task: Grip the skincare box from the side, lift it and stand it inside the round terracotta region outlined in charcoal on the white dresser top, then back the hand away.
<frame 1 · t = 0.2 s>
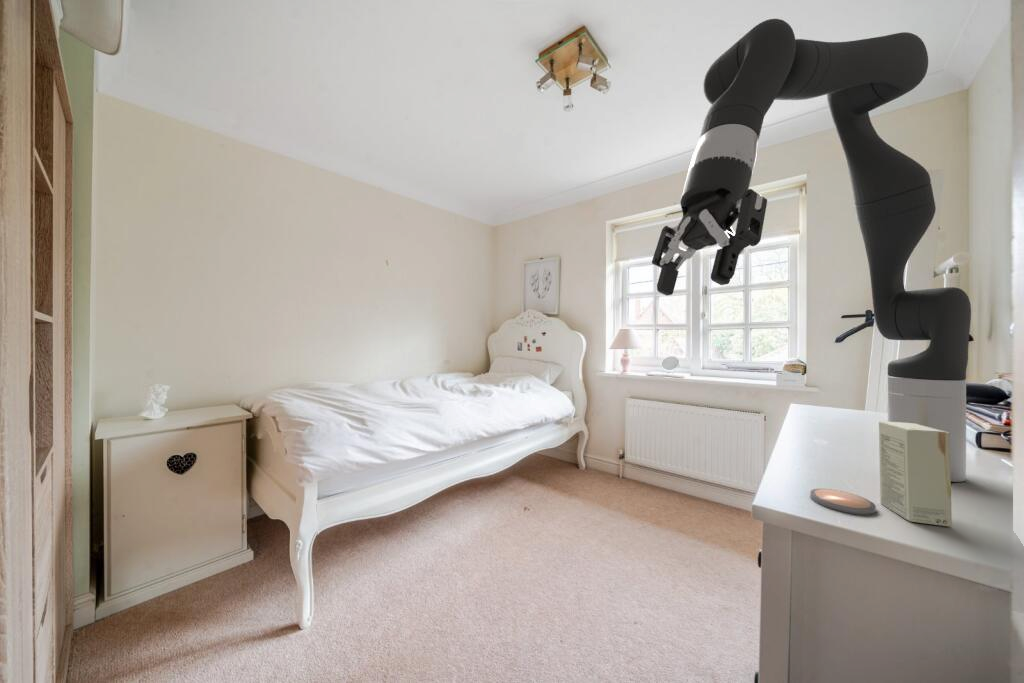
hand: (689, 288, 44), 30 cm above the table, tool tilted 20°, fingers open, 8 cm apart
skincare box: (912, 515, 49), on the table
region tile: (841, 503, 52), on the table
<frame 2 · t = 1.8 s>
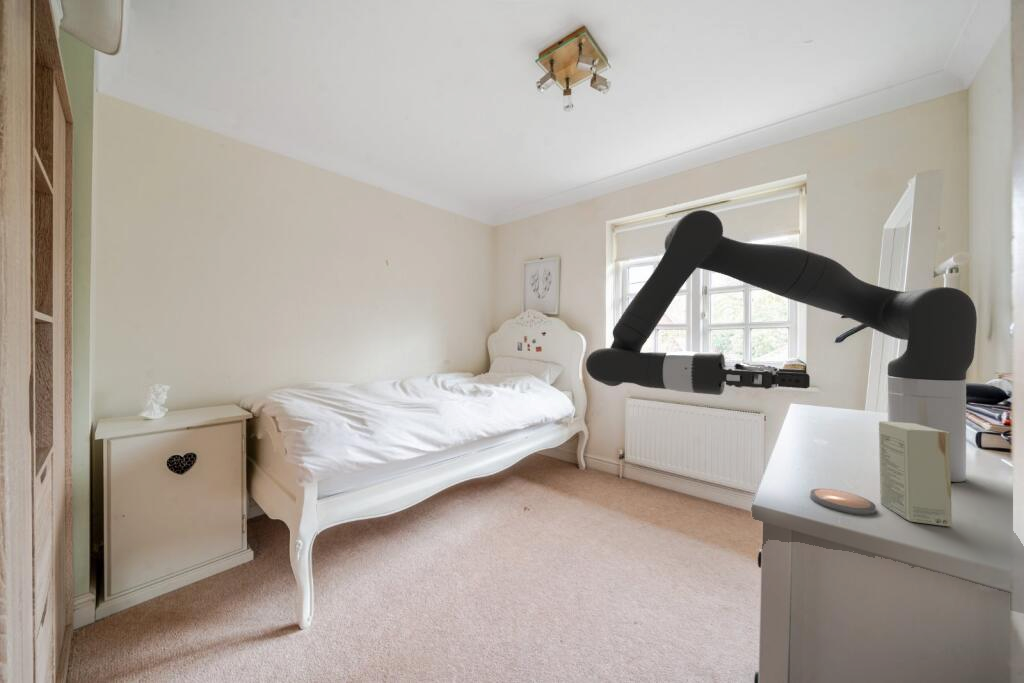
hand: (807, 378, 55), 18 cm above the table, tool horizontal, fingers open, 8 cm apart
nothing on the table moved.
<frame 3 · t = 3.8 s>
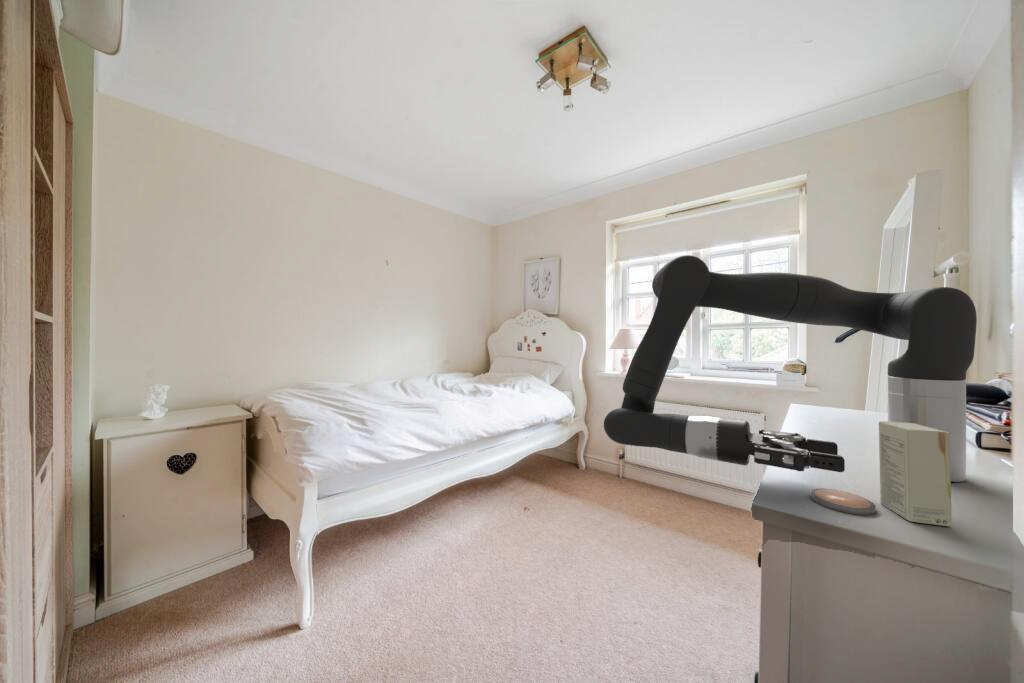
hand: (840, 456, 53), 6 cm above the table, tool horizontal, fingers open, 8 cm apart
nothing on the table moved.
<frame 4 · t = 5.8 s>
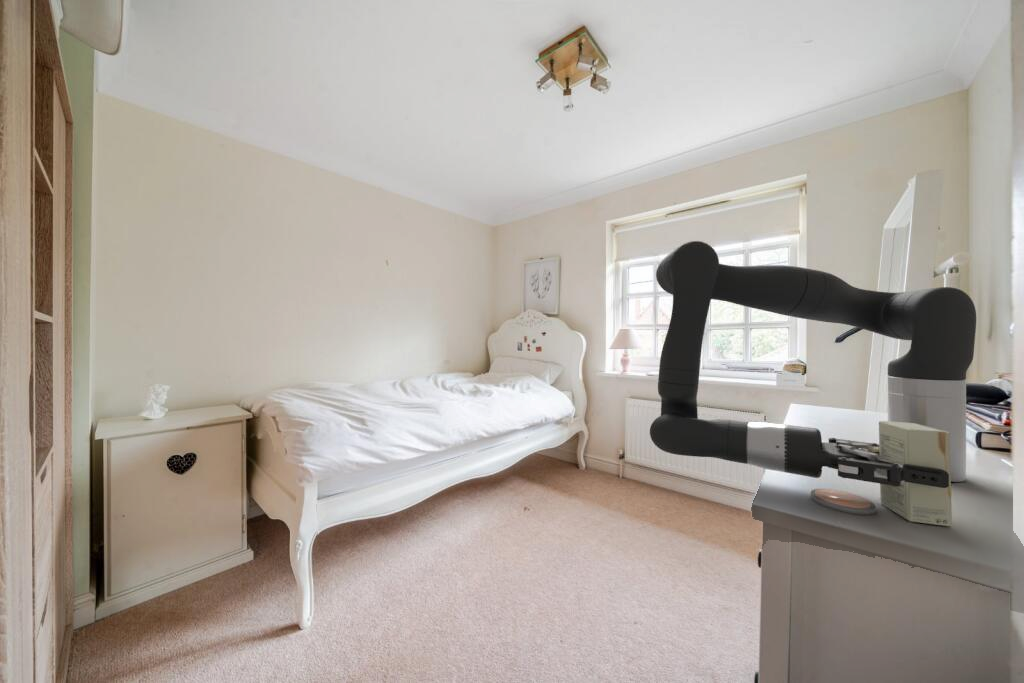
hand: (937, 470, 47), 7 cm above the table, tool horizontal, fingers closed on skincare box, 7 cm apart
skincare box: (912, 515, 49), on the table, touching gripper
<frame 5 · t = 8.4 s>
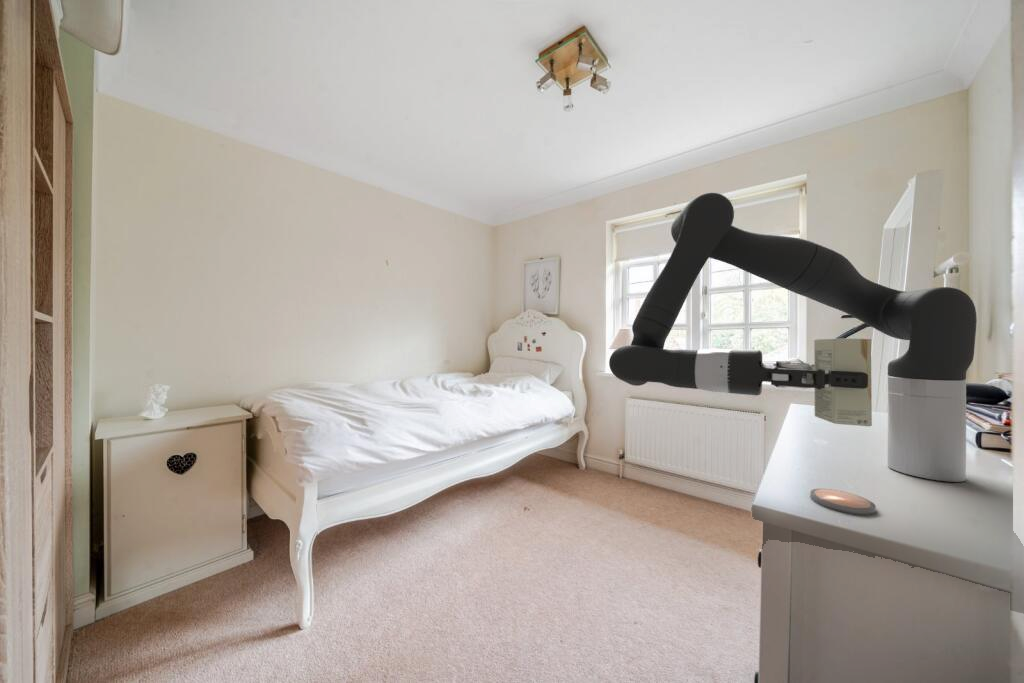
hand: (862, 378, 50), 19 cm above the table, tool horizontal, fingers closed on skincare box, 7 cm apart
skincare box: (840, 422, 52), point 12 cm above the table, touching gripper
when the fingers open (8 cm above the table, at t = 11.3 s): skincare box drops 1 cm, resting on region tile.
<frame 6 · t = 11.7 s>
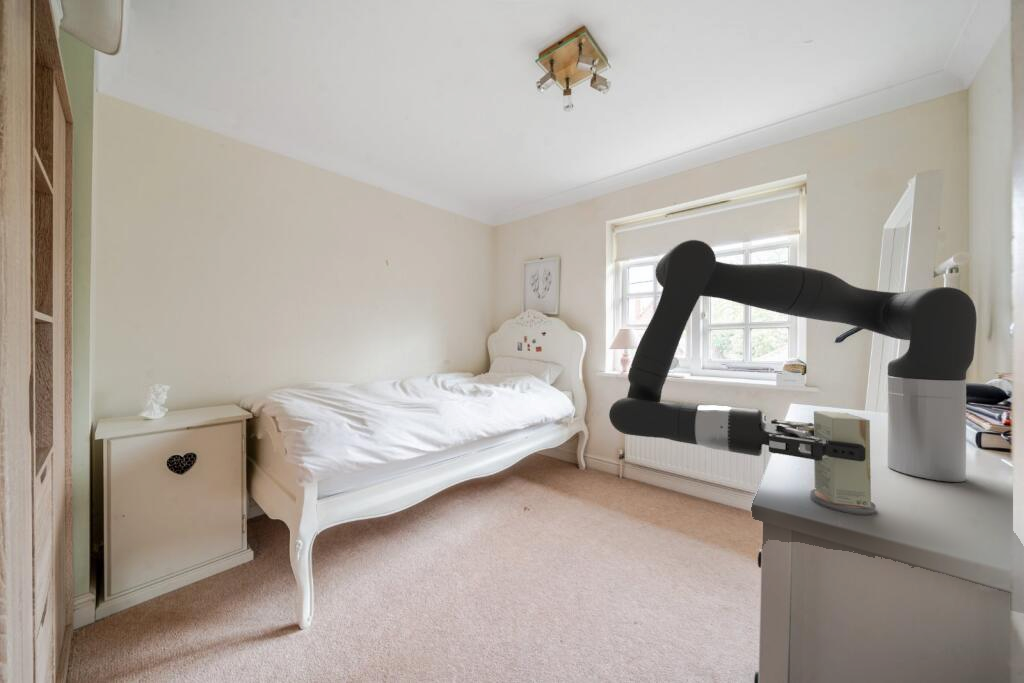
hand: (859, 445, 51), 9 cm above the table, tool horizontal, fingers open, 8 cm apart
skincare box: (840, 498, 52), point 1 cm above the table, touching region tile
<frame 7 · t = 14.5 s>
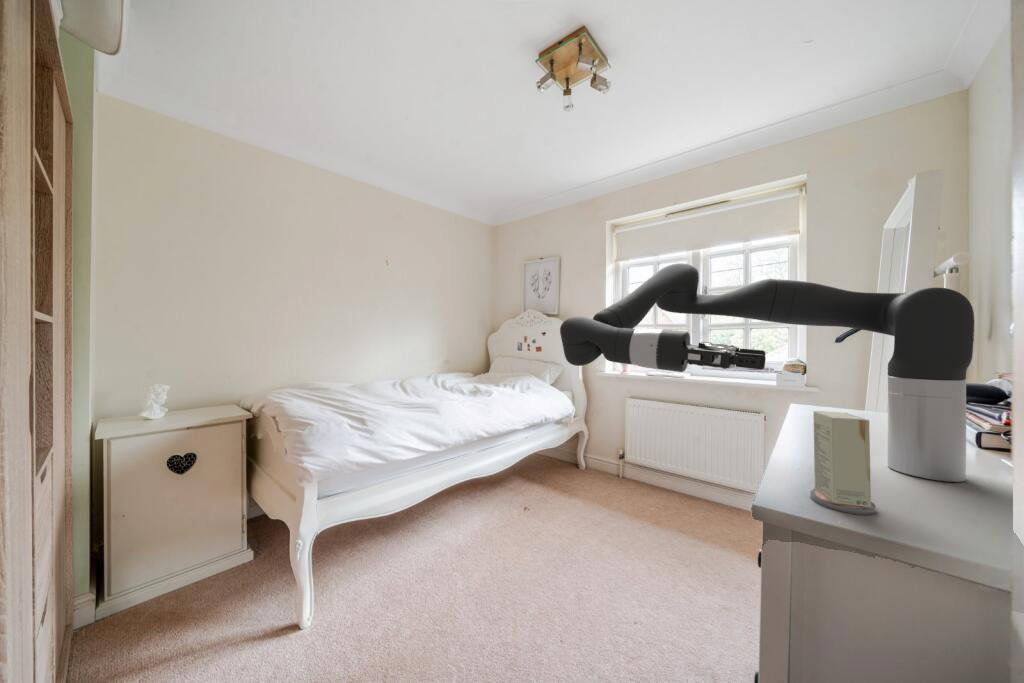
hand: (765, 359, 57), 21 cm above the table, tool horizontal, fingers open, 8 cm apart
nothing on the table moved.
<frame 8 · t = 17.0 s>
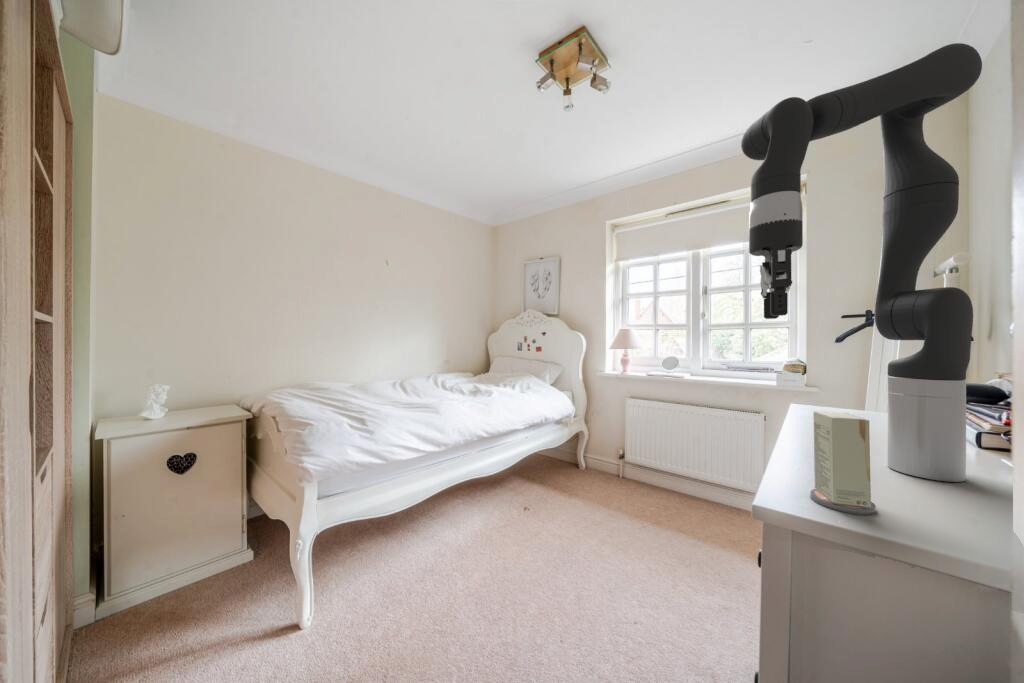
hand: (774, 317, 62), 28 cm above the table, tool pointing down, fingers open, 8 cm apart
nothing on the table moved.
at the end: skincare box 0.1 cm off-centre on the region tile, point 0.6 cm above the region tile's base; skincare box tilted 0°; the gripper is holding nothing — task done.
